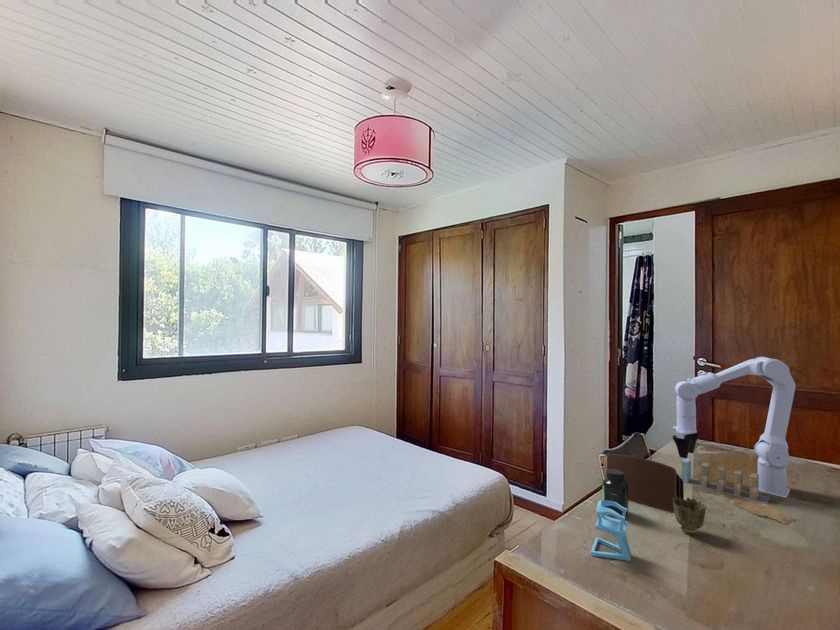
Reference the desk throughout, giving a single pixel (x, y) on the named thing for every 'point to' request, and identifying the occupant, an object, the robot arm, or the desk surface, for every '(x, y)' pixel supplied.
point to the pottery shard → (763, 511)
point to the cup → (689, 514)
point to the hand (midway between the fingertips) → (686, 455)
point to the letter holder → (648, 481)
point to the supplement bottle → (615, 490)
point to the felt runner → (728, 490)
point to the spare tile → (686, 470)
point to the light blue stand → (612, 531)
